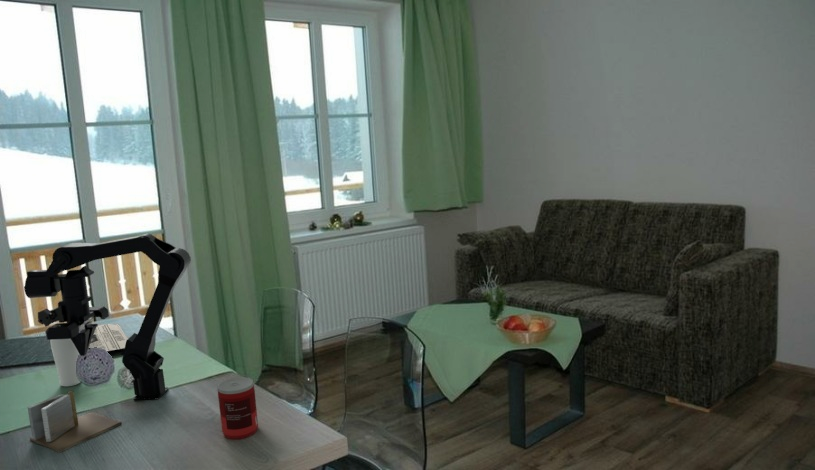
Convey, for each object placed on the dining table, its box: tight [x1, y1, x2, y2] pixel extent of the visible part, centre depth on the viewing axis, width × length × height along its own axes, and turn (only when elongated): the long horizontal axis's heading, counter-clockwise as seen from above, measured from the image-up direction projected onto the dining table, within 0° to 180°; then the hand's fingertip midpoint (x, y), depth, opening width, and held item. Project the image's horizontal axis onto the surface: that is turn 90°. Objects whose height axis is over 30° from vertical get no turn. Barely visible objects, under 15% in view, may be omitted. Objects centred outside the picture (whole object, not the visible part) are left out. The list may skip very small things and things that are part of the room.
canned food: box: [217, 376, 259, 440], centre depth 140 cm, size 8×8×11 cm
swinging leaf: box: [41, 394, 75, 442], centre depth 143 cm, size 8×1×8 cm, turn 170°
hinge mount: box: [27, 390, 122, 453], centre depth 145 cm, size 14×12×9 cm
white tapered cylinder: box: [49, 339, 81, 388], centre depth 175 cm, size 7×7×15 cm
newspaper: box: [89, 323, 128, 352], centre depth 211 cm, size 35×12×4 cm, turn 34°
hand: (83, 355), depth 161 cm, fingers closed
